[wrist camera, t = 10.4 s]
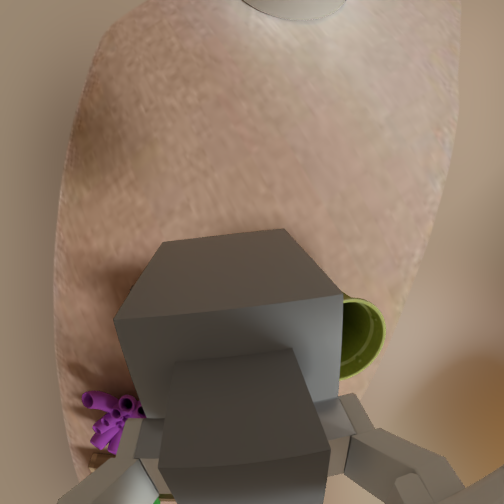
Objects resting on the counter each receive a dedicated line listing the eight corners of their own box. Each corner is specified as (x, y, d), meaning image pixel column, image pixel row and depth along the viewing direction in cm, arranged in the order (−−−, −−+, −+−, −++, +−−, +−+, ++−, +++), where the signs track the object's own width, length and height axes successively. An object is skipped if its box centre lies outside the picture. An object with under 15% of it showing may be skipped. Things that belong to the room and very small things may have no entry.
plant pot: (354, 263, 36) (389, 290, 28) (354, 332, 39) (382, 370, 31) (276, 275, 36) (293, 308, 28) (282, 346, 39) (298, 390, 30)
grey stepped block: (162, 242, 17) (60, 413, 5) (283, 228, 18) (413, 375, 5) (182, 346, 19) (158, 545, 6) (289, 334, 19) (363, 521, 7)
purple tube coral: (154, 366, 41) (191, 411, 35) (145, 433, 45) (176, 475, 39) (78, 378, 33) (105, 434, 27) (83, 447, 37) (110, 496, 31)
